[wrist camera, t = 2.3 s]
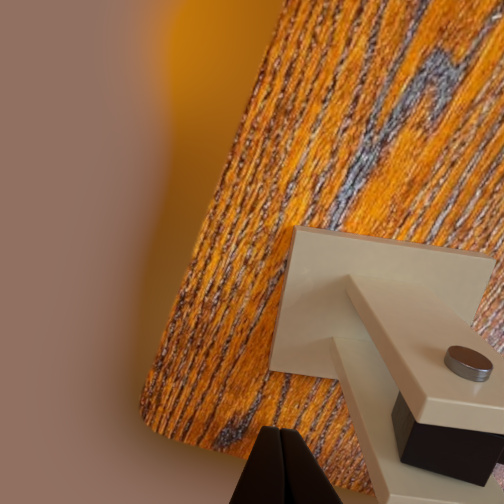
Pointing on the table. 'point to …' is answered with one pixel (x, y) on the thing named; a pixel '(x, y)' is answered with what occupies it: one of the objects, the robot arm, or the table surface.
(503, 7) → the table surface
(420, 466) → the switch lever
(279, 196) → the table surface
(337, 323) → the switch bracket
